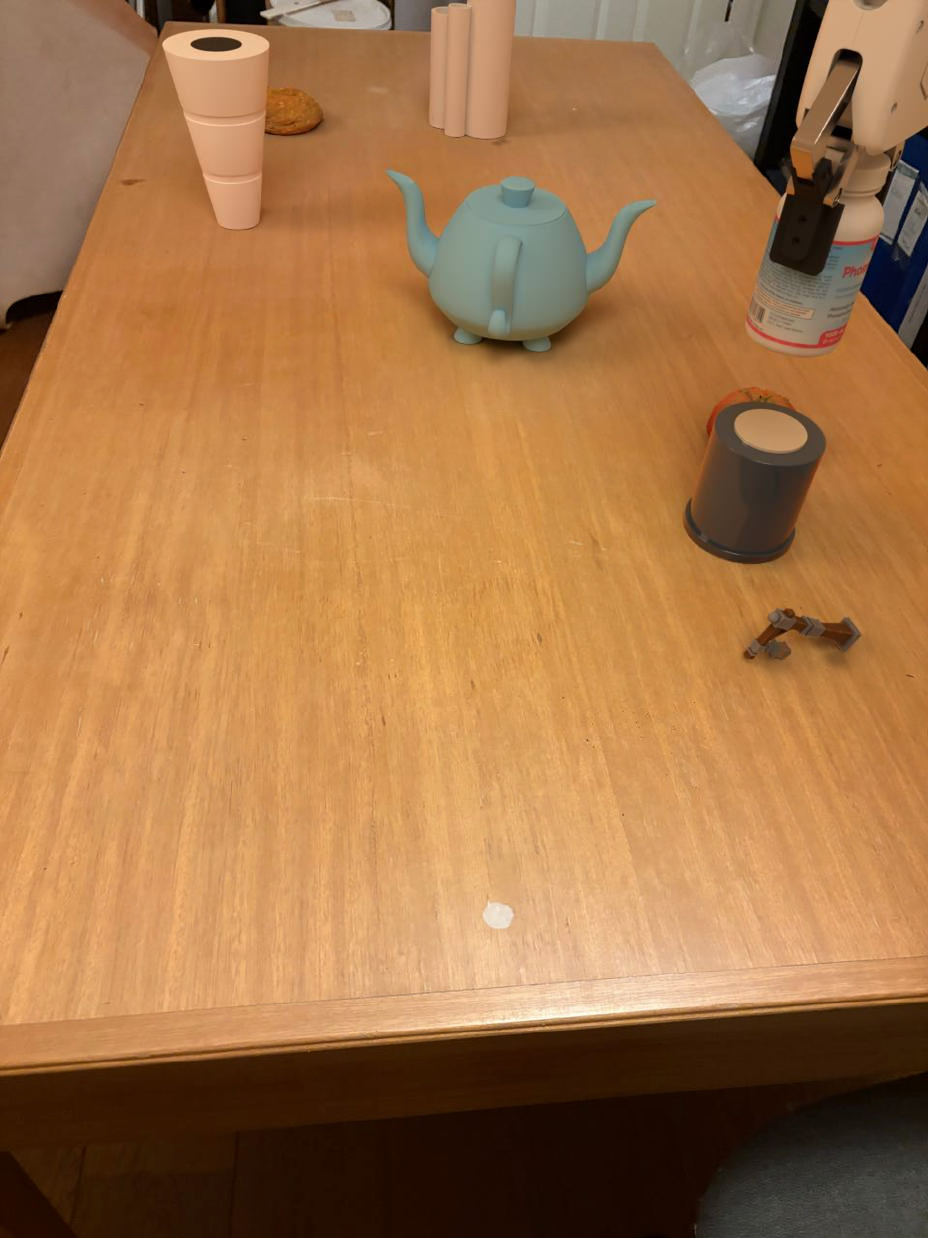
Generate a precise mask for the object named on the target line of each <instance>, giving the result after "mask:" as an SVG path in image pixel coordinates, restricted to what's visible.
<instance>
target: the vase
mask: <svg viewBox="0 0 928 1238" xmlns="http://www.w3.org/2000/svg"><path fill="white" fill-rule="evenodd" d="M516 10H517V0H466V3H462V2H461V3H460V2H454V3H449V4H448V5H447V6H436V7H433V8H431V16H430V54H429V55H430V56H429V57H430V60H429V98H428V99H429V102H428V103H429V104H428V109H429V111H428V124H429V126H431V127H433V128H436V129H441V130H443V134H444V135H445V136H447V137H450V138H462V137H465V135H466V136H468V137H471V138H475V139H480V140H491V139H492V140H494V139H498V138H501V137H504V136H505V135H506V134H507V126H508V113H509V101H510V100H509V99H510V87H511V75H512V74H511V73H512V62H513V48H514V38H515V37H514V36H515V24H516V23H515V22H516ZM432 118H433V119H432ZM443 121H444V122H443Z"/></svg>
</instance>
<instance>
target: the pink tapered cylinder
mask: <svg viewBox="0 0 928 1238" xmlns="http://www.w3.org/2000/svg"><path fill="white" fill-rule="evenodd" d="M162 49H163V53H164V55H165V58H166V61H167V65H168V69H169V71H170V74H171V79H172V81H173V85H174V88H175V90H176V94H177V97H178V100H179V101H178V102H179V104H180V106H181V108H182V110H183V117H184V119H185V122H186V126H187V128H188V131H189V135H190V139H191V141H192V144H193V148H194V151H195V154H196V157H197V160H198V163H199V166H200V168H201V171H202V176H203V180H204V184H205V186H206V190H207V192H208V196H209V199H210V202H211V206H212V209H213V213H214V215H215V219H216V222H217V224H218V225H219V226H220V227H222V228H224V229H228V230H233V231H239V230H240V231H241V230H242V231H243V230H247V229H251V228H254V227H256V226H257V225H259V223H260V221H261V207H262V205H261V204H262V187H263V185H262V184H263V169H262V168H263V164H264V150H265V149H264V148H265V147H264V146H265V133H266V132H265V115H266V111H265V105H266V99H267V87H268V78H269V63H270V62H269V60H270V42H269V41H268V40H267V39H266V38H264V37H263V36H260V35H258V34H256V33H252V32H247V31H242V30H235V29H223V28H221V29H219V28H213V29H212V28H210V29H196V30H189V31H184V32H179V33H176V34H173V35H170V36H169V37H167V38H165V39H164V41H163V42H162Z"/></svg>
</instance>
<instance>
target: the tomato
mask: <svg viewBox="0 0 928 1238" xmlns="http://www.w3.org/2000/svg"><path fill="white" fill-rule="evenodd" d="M742 402H767V403H773V404H777V405H781V406H785V407H788V408H790V409H793V410H795V411H797V410H796V408H795V407H794V406H793V404H792V403H791V402H790V399H788V398H787V397H786V396H782V395H781V394H778V393H775V392H773V391H771V390H768V389H761V388H760V387H757V386H755V387H754V386H750V387H744V388H741V389H738V390H734V391H732V392H731V393H729V394H727V395H725V397H723V398H722V399H721V400H720V401H719V402H718V403H716V404H715V406H714V408H713V410H712V411H711V413H710V416H709V417H708V419H707V422H706V426H705V427H706V432H707V434H708V435H707V436H708V439H709V438H710V435H711V431H712V428H713V424H714V421H715V418H716V416H717V415H718V414H719V413H720V412H721V411H722V410H723V409H725V408H726V407H728V406H730V405H733V404H737V403H742Z"/></svg>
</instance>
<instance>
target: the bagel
mask: <svg viewBox="0 0 928 1238" xmlns="http://www.w3.org/2000/svg"><path fill="white" fill-rule="evenodd" d="M265 111H266V115H265V132H264V133H270V134H274V135H283V136H285V135H286V136H287V135H289V136H290V135H297V134H301V133H305V132H309V131H310V130H312V129H313V128H315V127H316V126H317V124H319V123H320V122H321V121H322V120H323V118H324V112H323V108H322V107H321V105H320V104H319V102H318V100H316V99H315V98H313V97H312V96H311V95H309V94H308V93H307V92H304V91H303V90H300V89H297V88H295V87H287V86H280V87H276V88H274V87H269V86H267V99H266V105H265Z"/></svg>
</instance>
